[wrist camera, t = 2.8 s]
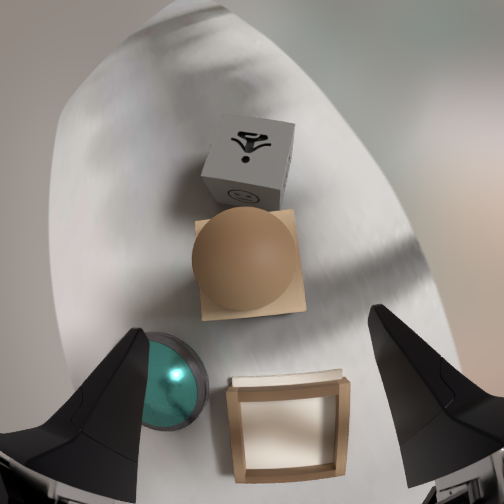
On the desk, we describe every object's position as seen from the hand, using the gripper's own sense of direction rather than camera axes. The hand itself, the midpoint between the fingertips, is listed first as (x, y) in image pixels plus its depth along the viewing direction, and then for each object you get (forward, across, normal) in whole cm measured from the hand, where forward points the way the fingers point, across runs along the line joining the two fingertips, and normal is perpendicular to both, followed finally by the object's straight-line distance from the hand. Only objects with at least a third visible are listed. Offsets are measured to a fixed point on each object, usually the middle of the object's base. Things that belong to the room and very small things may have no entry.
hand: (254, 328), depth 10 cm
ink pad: (+3, +9, +10) cm, 14 cm away
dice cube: (+14, 0, 0) cm, 15 cm away
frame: (0, -1, +14) cm, 14 cm away
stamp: (+8, 0, +5) cm, 10 cm away
